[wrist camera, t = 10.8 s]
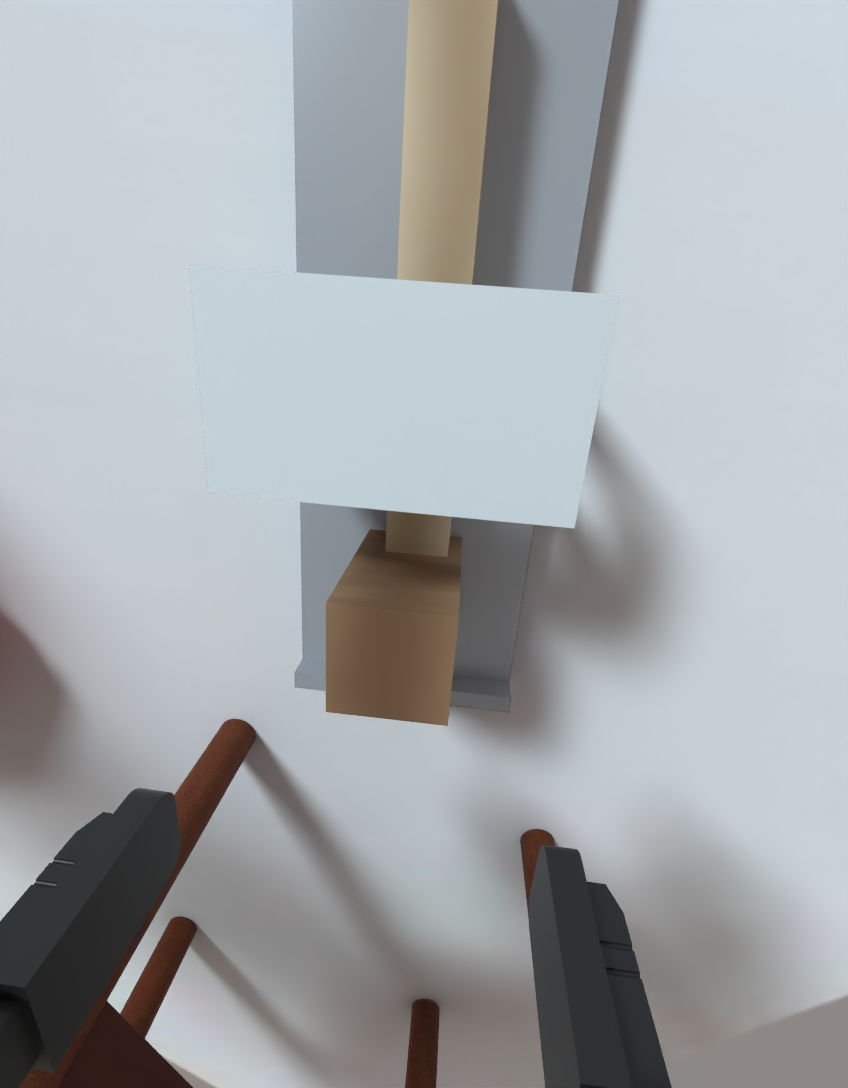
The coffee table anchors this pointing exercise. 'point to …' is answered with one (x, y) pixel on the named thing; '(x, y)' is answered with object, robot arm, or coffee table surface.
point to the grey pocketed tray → (419, 324)
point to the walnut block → (393, 633)
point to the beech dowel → (441, 176)
